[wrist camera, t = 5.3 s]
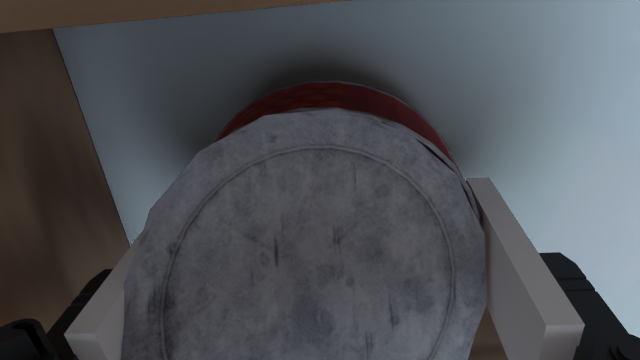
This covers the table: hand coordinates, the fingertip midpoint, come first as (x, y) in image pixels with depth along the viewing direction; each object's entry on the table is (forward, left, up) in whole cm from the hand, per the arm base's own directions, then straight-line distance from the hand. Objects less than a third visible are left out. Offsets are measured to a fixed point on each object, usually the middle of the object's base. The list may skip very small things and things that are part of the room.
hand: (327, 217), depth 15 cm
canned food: (0, 0, -1) cm, 1 cm away
